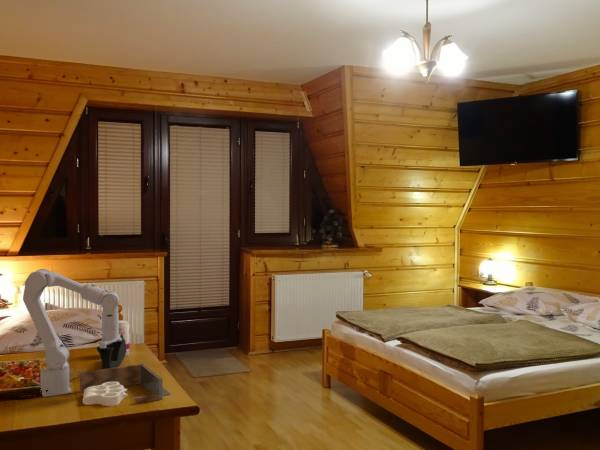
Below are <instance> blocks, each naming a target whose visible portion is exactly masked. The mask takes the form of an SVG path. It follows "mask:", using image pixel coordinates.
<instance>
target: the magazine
mask: <svg viewBox="0 0 600 450" xmlns="http://www.w3.org/2000/svg"><path fill="white" fill-rule="evenodd" d="M120 338H122V340H123V344H122V346H121V348H120V352H119V356H118V360H117V361H110V366H109V367H103V364H102V363H101V367H100V370H101V369H108V368H115V367H121V364H122V363H123V360H124V359H125V357H126V356H125V354H126V343H125V339H124V338H123V335H120Z"/></svg>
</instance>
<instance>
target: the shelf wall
mask: <svg viewBox="0 0 600 450" xmlns="http://www.w3.org/2000/svg"><path fill="white" fill-rule="evenodd" d="M142 364H143V363H139V364H130V365H124V366H123V365H122V366H119V367H115V368H108V369H101V368H100V369H95V370H87V371H81V372H79V393H80V394H81V393H83V394H84V390H85V389H86V388H88V387H91V386H98V385H102V384H103V383H106V382H119V384H120V385H123V386H124V387H126V386H127V387H128V386H133V385H139V384H140V385H141V365H142ZM154 401H159V394H147V395H142V396H135V397H134V404H136V405H138V404H143V403H149V402H154Z"/></svg>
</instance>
